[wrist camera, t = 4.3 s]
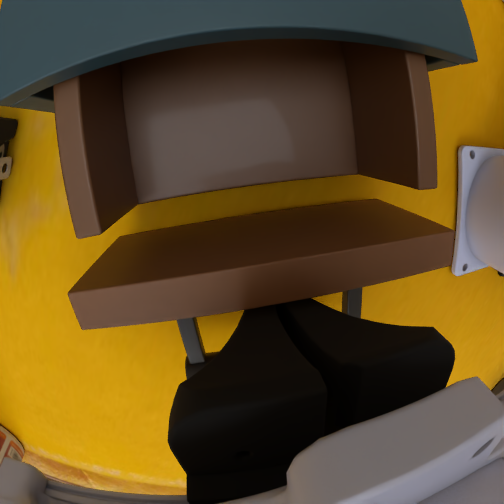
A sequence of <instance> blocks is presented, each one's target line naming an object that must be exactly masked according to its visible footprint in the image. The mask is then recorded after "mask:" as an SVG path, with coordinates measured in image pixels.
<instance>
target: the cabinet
mask: <svg viewBox="0 0 504 504" xmlns="http://www.w3.org/2000/svg"><path fill="white" fill-rule="evenodd" d="M255 39H321V40H336V41H347V42H357V43H365V44H372V45H379V46H385V47H391V48H397V49H402V50H407V51H412V52H416V53H421V54H424V55H425V60H426V65H427V71H433V70H437V69H441V68H446V67H451V66H456V65H459V64H461V65H462V64H468V63H473V62H477V61H478V59H477V54H476V50H475V46H474V42H473V38H472V34H471V31H470V27H469V24H468V20H467V17H466V14H465V11H464V8H463V5H462V2H461V0H2V4H1V9H0V106H10V107H16V108H24V109H32V110H39V111H45V112H52V113H55V108H54V90H53V85H55V84H58V83H60V82H63V81H65V80H68V79H70V78H73V77H76V76H78V75H81V74H84V73H87V72H89V71H92V70H95V69H98V68H102V67H105V66H108V65H111V64H115V63H118V62H121V61H125V60H129V59H133V58H136V57H140V56H145V55H149V54H153V53H158V52H162V51H167V50H173V49H178V48H184V47H190V46H196V45H203V44H211V43H219V42H229V41H240V40H255Z"/></svg>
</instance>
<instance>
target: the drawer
mask: <svg viewBox="0 0 504 504" xmlns="http://www.w3.org/2000/svg"><path fill="white" fill-rule="evenodd" d="M53 90H54V108H55V120H56V130H57V139H58V147H59V154H60V161H61V168H62V174H63V179H64V185H65V190H66V195H67V200H68V205H69V209H70V214H71V218H72V222H73V226H74V230H75V234H76V237H77V238H78V239H81V238H86V237H91V236H96V235H100V234H102V233H103V232H104V231H105V230H107V229H108V228H109V227H110V226H111V225H113V224H114V223H115V222H116V221H118V220H119V219H120V218H121V217H123V216H124V215H125V214H126V213H128V212H129V211H130V210H131V209H133V208H134V207H135V206H137V205H138V204H143V203H148V202H153V201H159V200H164V199H169V198H175V197H181V196H187V195H192V194H198V193H205V192H211V191H217V190H224V189H231V188H238V187H245V186H252V185H260V184H267V183H276V182H284V181H293V180H302V179H311V178H322V177H332V176H344V175H357V174H359V175H363V176H367V177H372V178H376V179H380V180H384V181H388V182H392V183H396V184H399V185H403V186H407V187H411V188H414V189H418V190H424V189H435V188H437V154H436V136H435V124H434V113H433V105H432V97H431V89H430V83H429V77H428V71H427V65H426V60H425V55H424V54H421V53H416V52H412V51H407V50H402V49H397V48H391V47H385V46H379V45H372V44H365V43H357V42H347V41H336V40H321V39H255V40H240V41H229V42H219V43H211V44H203V45H196V46H190V47H184V48H178V49H173V50H167V51H162V52H158V53H153V54H149V55H145V56H140V57H136V58H133V59H129V60H125V61H121V62H118V63H115V64H111V65H108V66H105V67H102V68H98V69H95V70H92V71H89V72H87V73H84V74H81V75H78V76H76V77H73V78H70V79H68V80H65V81H63V82H60V83H58V84H55V85H53ZM454 233H455V232H454V230H452V229H449V228H447V227H445V226H443V225H440V224H438V223H436V222H433V221H431V220H429V219H426V218H424V217H421V216H419V215H417V214H414V213H412V212H409V211H407V210H404V209H402V208H399V207H396V206H394V205H391V204H389V203H386V202H383V201H381V200H378V199H369V200H360V201H351V202H342V203H334V204H326V205H318V206H310V207H302V208H294V209H287V210H279V211H272V212H265V213H258V214H251V215H244V216H237V217H231V218H224V219H218V220H211V221H205V222H199V223H193V224H187V225H181V226H175V227H169V228H163V229H158V230H152V231H146V232H141V233H135V234H130V235H125V236H120V237H119V238H118V239H117V240H116V241H115V242H114V243H113V244H112V245H111V246H110V247H109V248H108V249H107V250H106V251H105V252H104V253H103V254H102V255H101V256H100V257H99V258H98V260H97V261H96V262H95V263H94V264H93V265H92V266H91V267H90V268H89V269H88V270H87V272H86V273H85V274H84V275H83V276H82V277H81V278H80V279H79V280H78V282H77V283H76V284H75V285H74V286H73V287H72V288H71V290H70V291H69V292H68V296H69V299H70V302H71V304H72V307H73V309H74V312H75V314H76V317H77V319H78V322H79V324H80V327H81V329H82V330H86V329H97V328H108V327H118V326H128V325H137V324H146V323H155V322H163V321H171V320H177V323H178V327H179V330H180V333H181V337H182V340H183V343H184V347H185V350H186V353H187V357H186V360H185V369H186V377H187V379H188V378H190V377H191V376H193V375H194V374H195V373H197V372H198V371H200V370H201V369H202V368H203V367H205V366H206V365H207V364H208V363H209V362H210V361H211V360H212V359H213V358H214V357H216V355H217V354H218V353H219V352H220V351H219V352H212V353H205V350H204V346H203V342H202V339H201V335H200V331H199V327H198V323H197V319H196V317H200V316H207V315H214V314H221V313H227V312H234V311H240V310H246V309H252V308H258V307H264V306H270V305H275V304H281V303H286V302H292V301H297V300H302V299H308V298H313V297H318V296H323V295H328V294H333V293H337V292H342V313H345V314H348V315H351V316H354V317H357V318H361V303H362V287H365V286H370V285H374V284H378V283H383V282H387V281H391V280H395V279H400V278H404V277H408V276H412V275H416V274H420V273H424V272H428V271H431V270H435V269H439V268H443V267H447V266H450V265H451V260H452V252H453V243H454Z"/></svg>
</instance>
